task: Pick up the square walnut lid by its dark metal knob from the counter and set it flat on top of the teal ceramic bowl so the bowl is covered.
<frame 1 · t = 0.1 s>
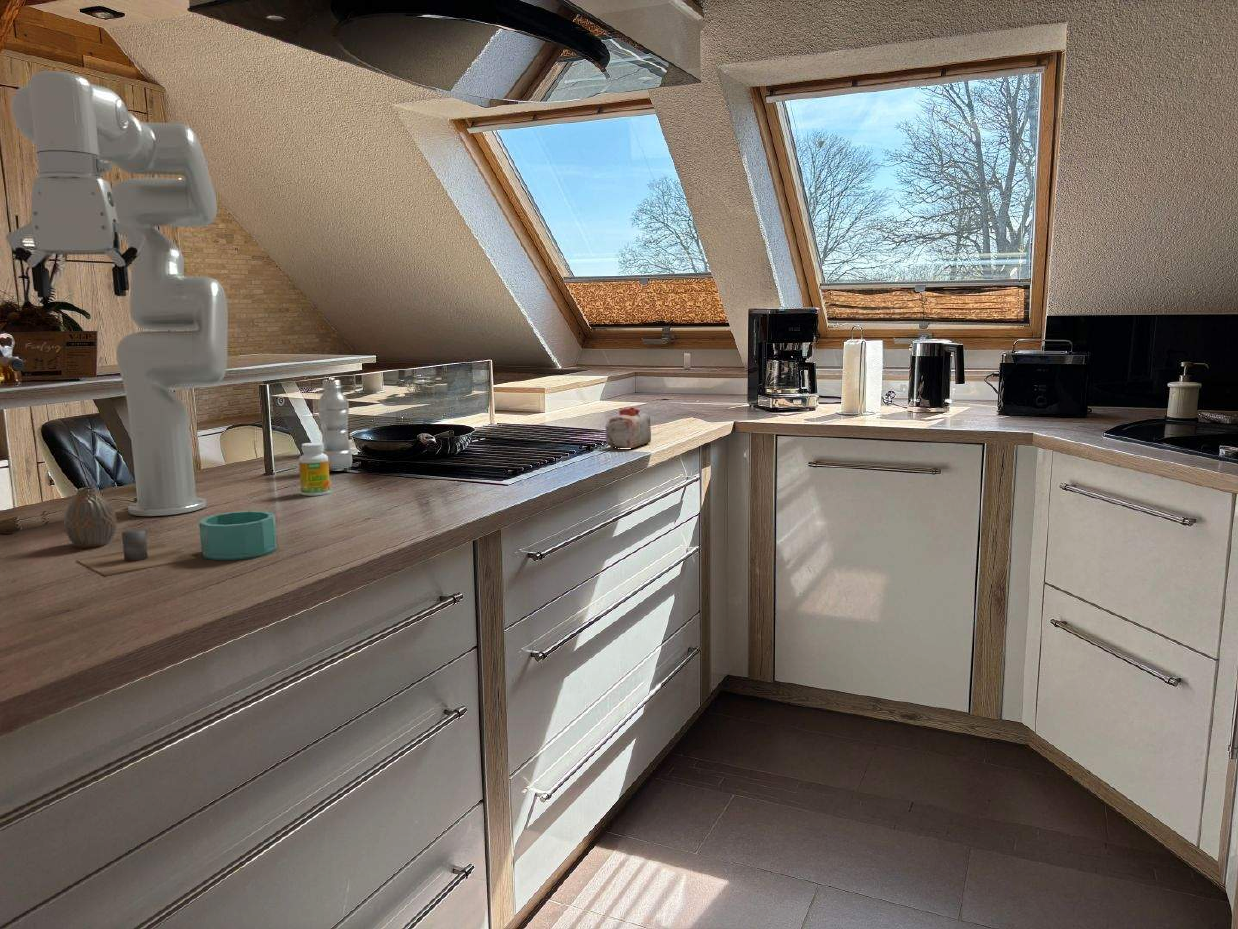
hand: (83, 296, 133), 37 cm above the worktop, tool pointing down, fingers open, 9 cm apart
bowl: (240, 551, 139), on the worktop
lid: (136, 564, 136), on the worktop
food item: (629, 447, 239), on the worktop
plastic bottle: (337, 472, 208), on the worktop
vase: (93, 546, 145), on the worktop
supplement bottle: (315, 494, 183), on the worktop
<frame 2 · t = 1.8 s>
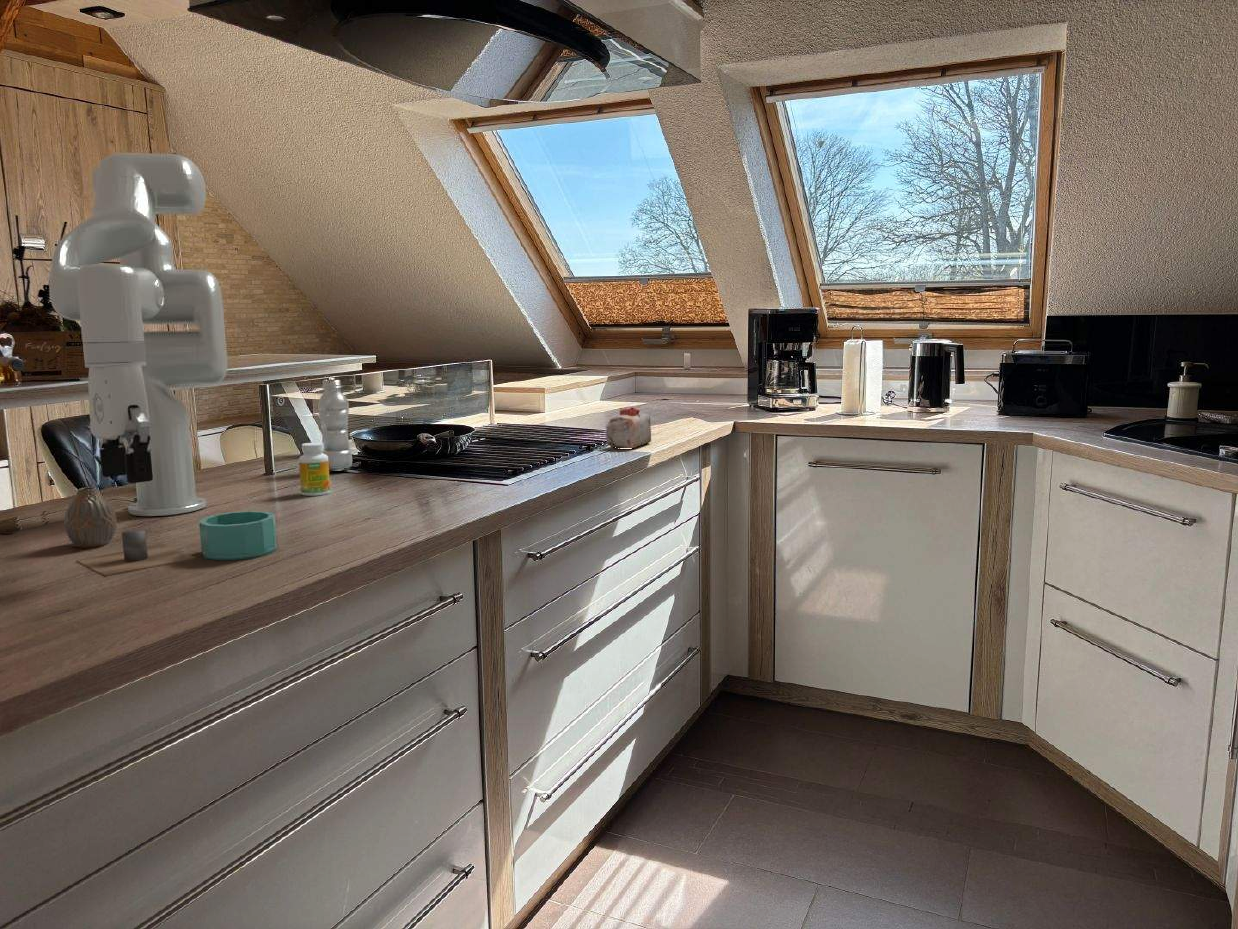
hand: (127, 478, 133), 12 cm above the worktop, tool pointing down, fingers open, 9 cm apart
nothing on the worktop moved.
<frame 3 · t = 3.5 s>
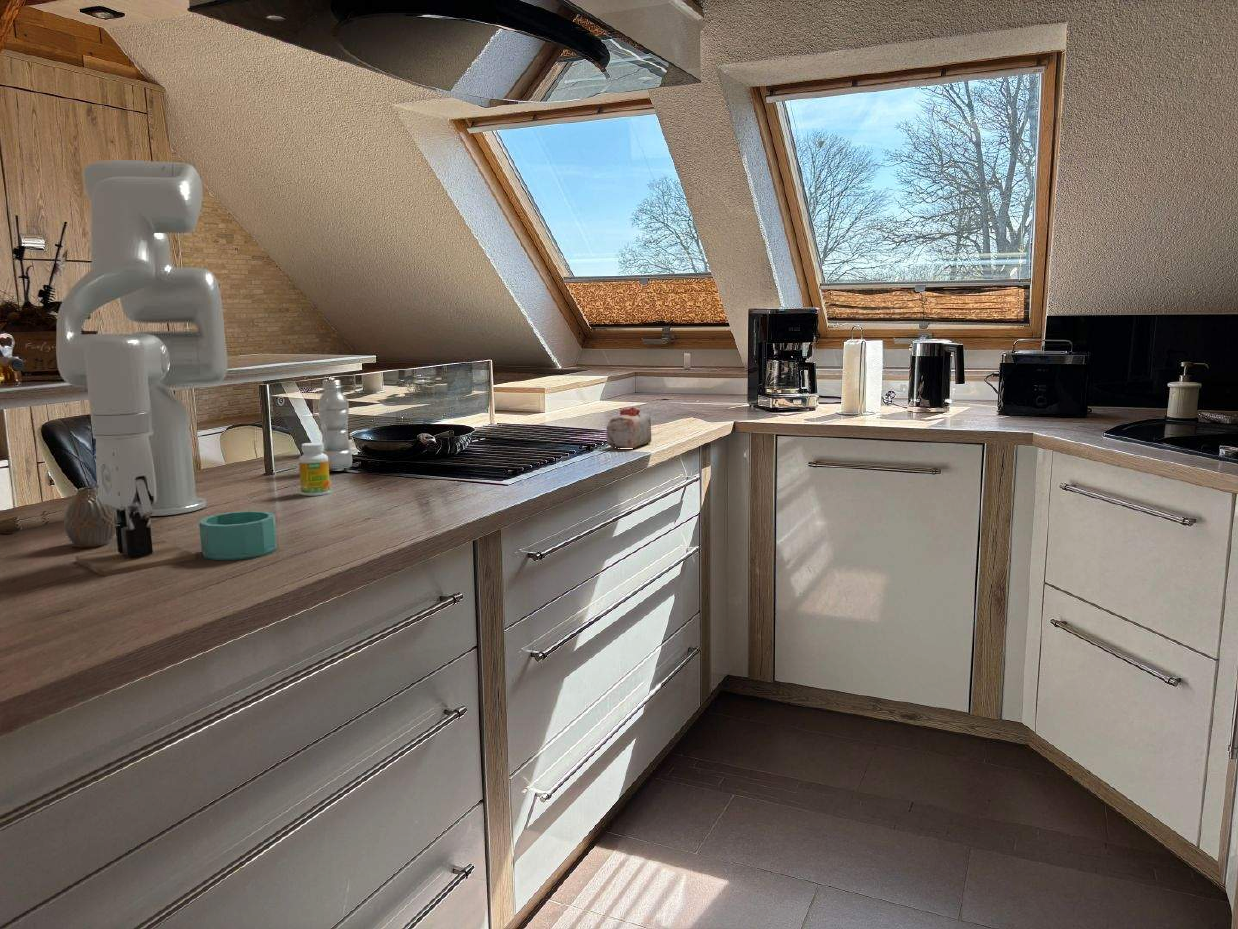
hand: (135, 552, 135), 1 cm above the worktop, tool pointing down, fingers closed on lid, 3 cm apart
lid: (136, 560, 136), on the worktop, touching gripper
everything else where it was.
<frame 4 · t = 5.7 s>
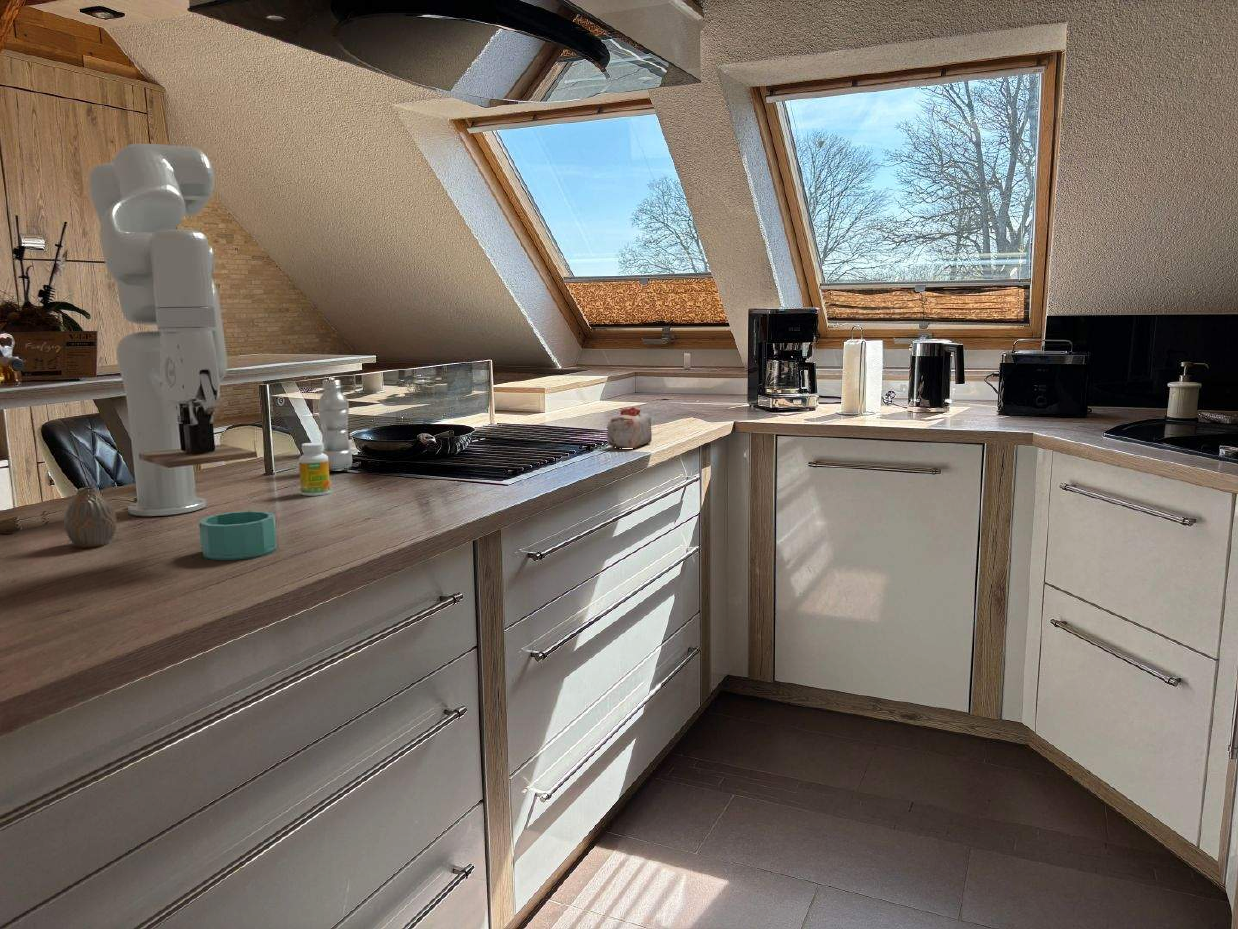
hand: (198, 450, 135), 15 cm above the worktop, tool pointing down, fingers closed on lid, 3 cm apart
lid: (198, 458, 136), point 14 cm above the worktop, touching gripper
everything else where it was.
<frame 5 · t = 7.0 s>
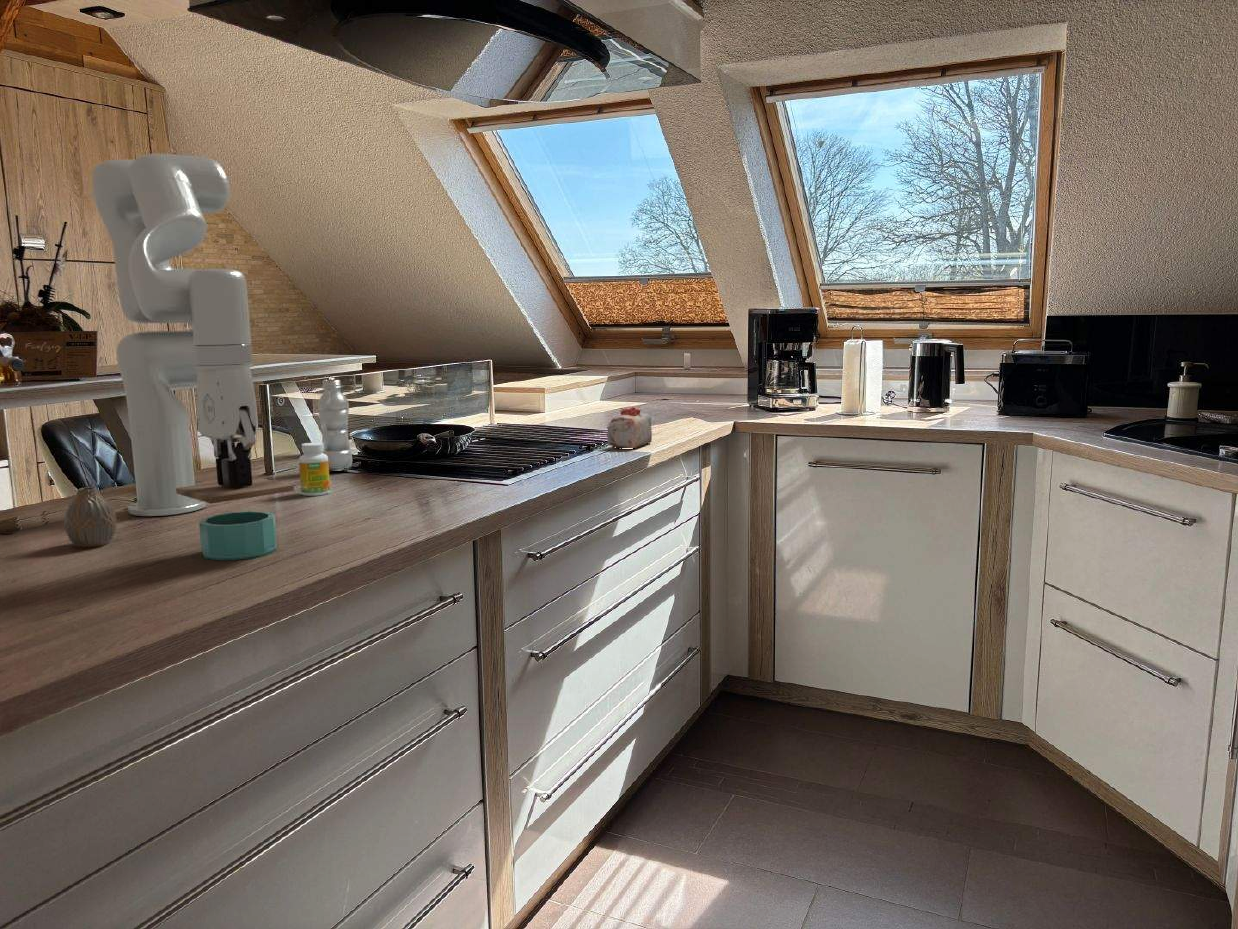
hand: (235, 484, 137), 10 cm above the worktop, tool pointing down, fingers closed on lid, 3 cm apart
lid: (235, 492, 138), point 9 cm above the worktop, touching gripper
everything else where it was.
when the fingers open (7 cm above the worktop, at t = 8.1 s): lid drops 1 cm, resting on bowl.
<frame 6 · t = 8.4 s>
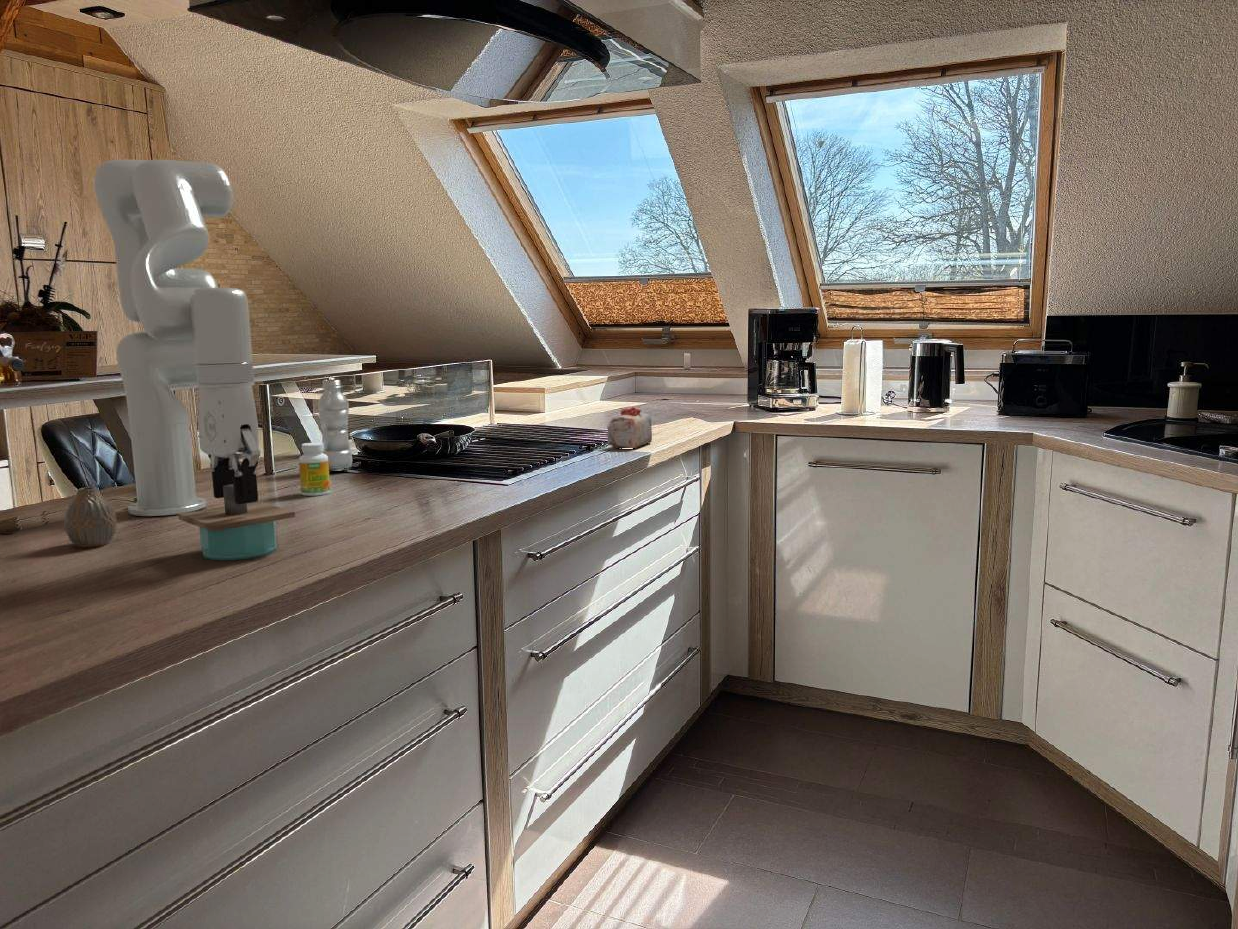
hand: (235, 498, 138), 8 cm above the worktop, tool pointing down, fingers open, 6 cm apart
lid: (236, 518, 138), point 5 cm above the worktop, touching bowl
everything else where it was.
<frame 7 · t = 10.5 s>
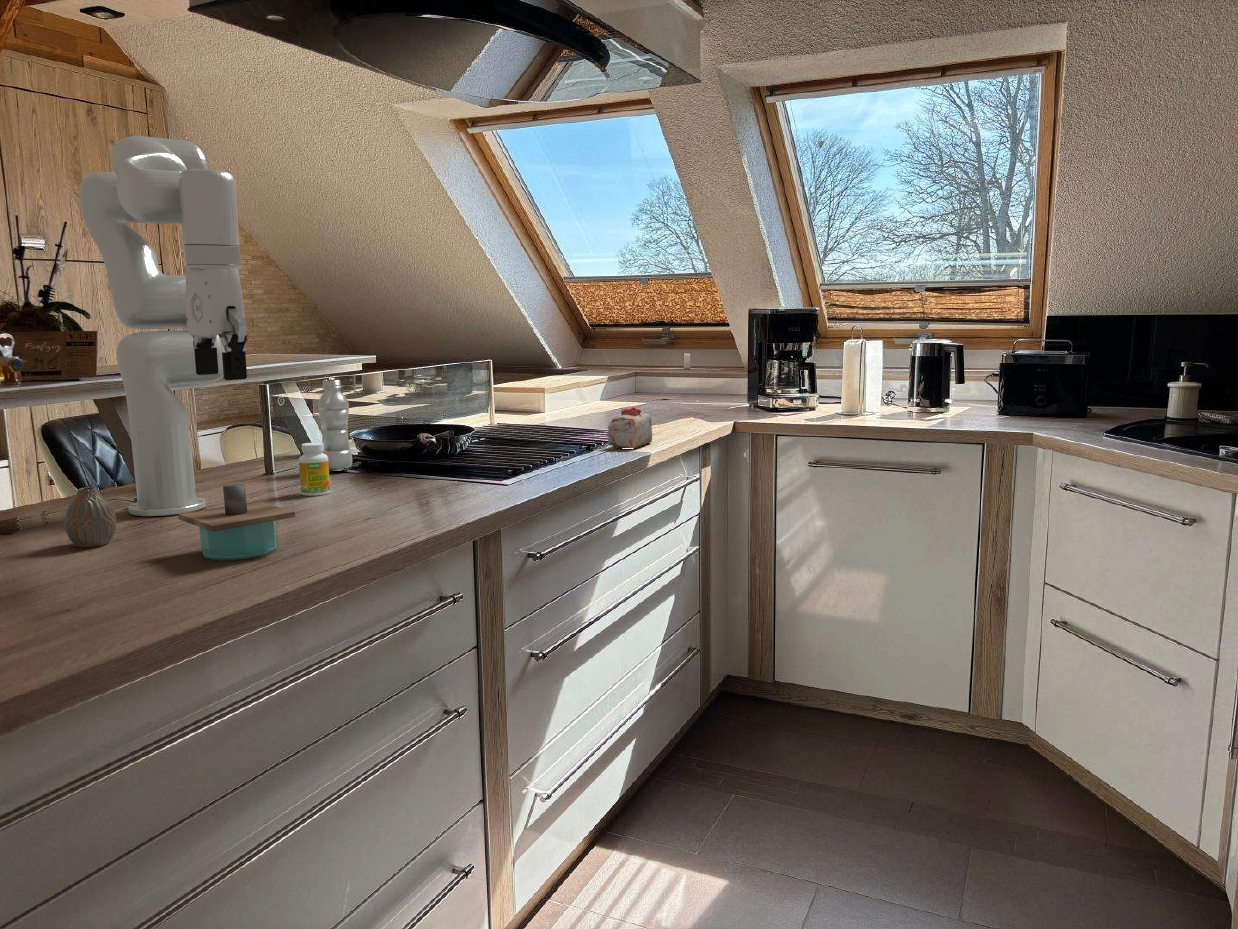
hand: (221, 376, 141), 25 cm above the worktop, tool pointing down, fingers open, 9 cm apart
nothing on the worktop moved.
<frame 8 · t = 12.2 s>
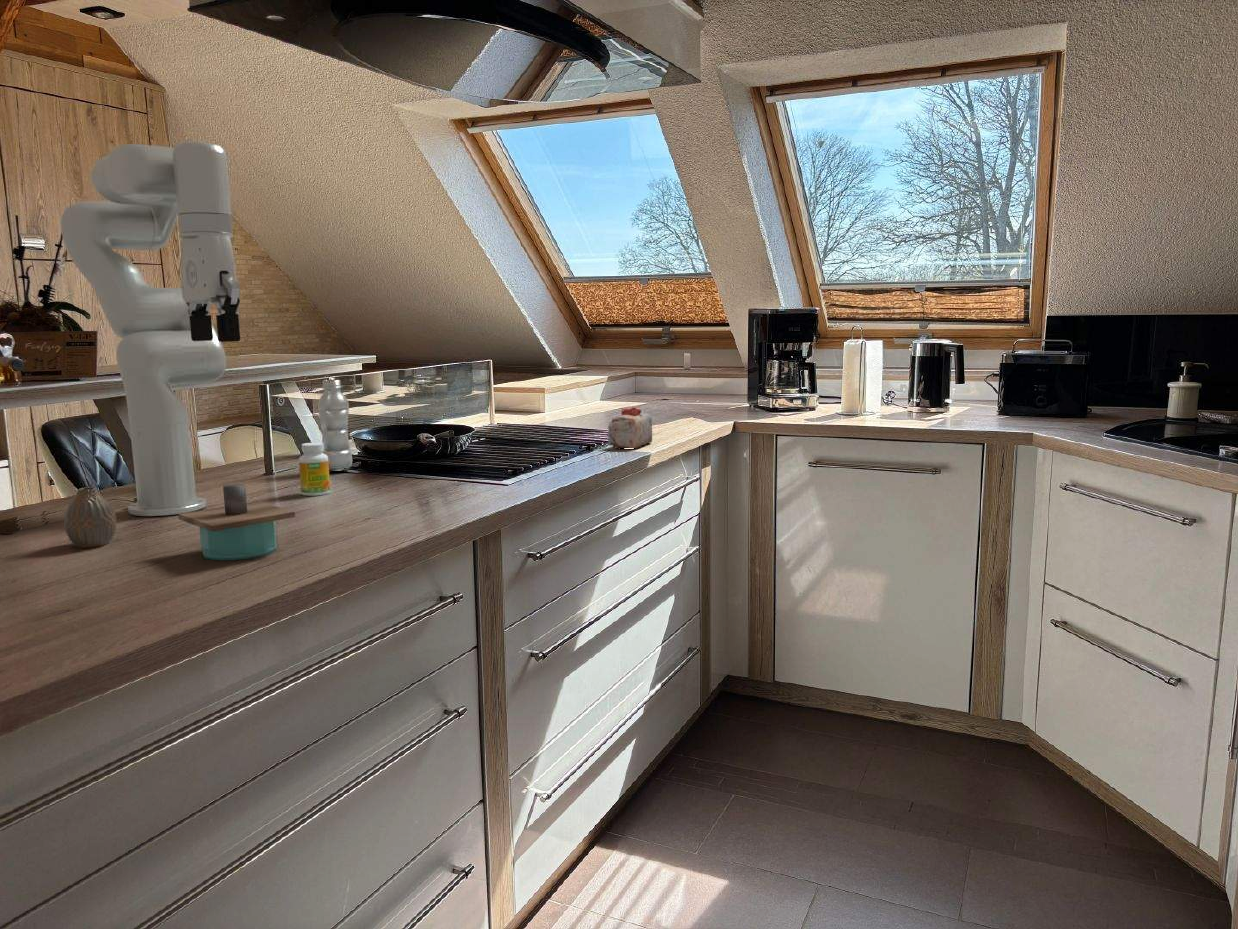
hand: (215, 341, 147), 30 cm above the worktop, tool pointing down, fingers open, 9 cm apart
nothing on the worktop moved.
at the end: lid 0.1 cm off-centre on the bowl, point 5.0 cm above the bowl's base; lid tilted 0°; the gripper is holding nothing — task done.
